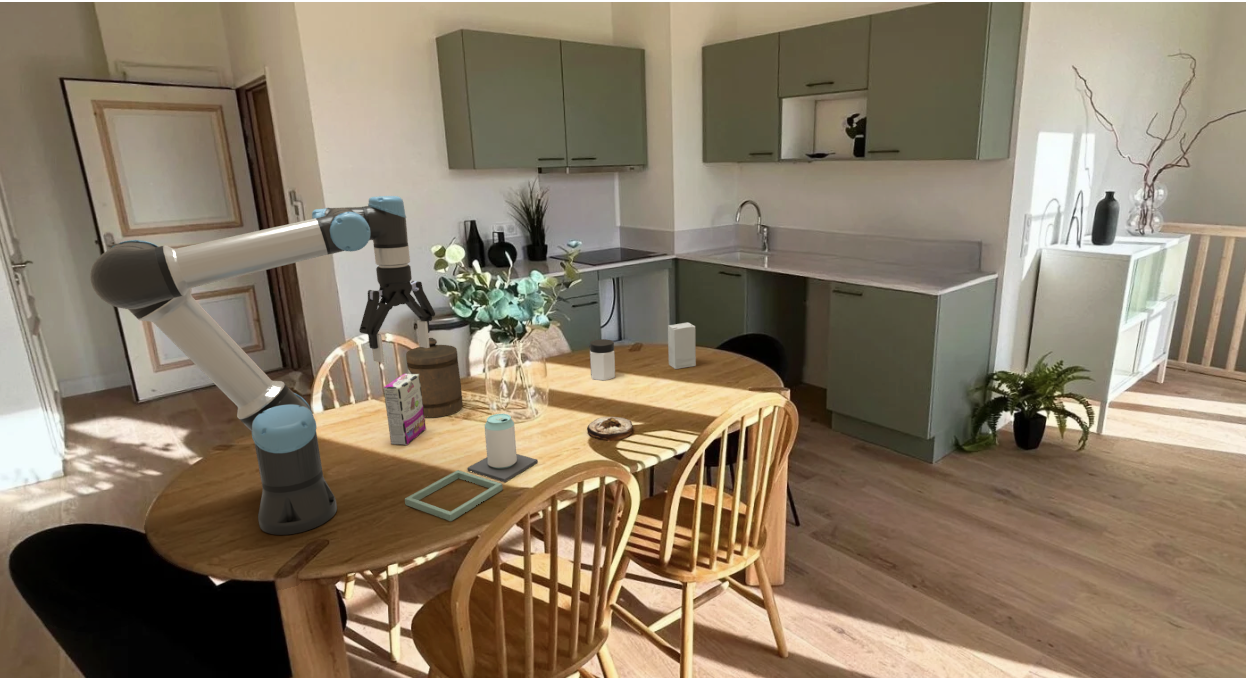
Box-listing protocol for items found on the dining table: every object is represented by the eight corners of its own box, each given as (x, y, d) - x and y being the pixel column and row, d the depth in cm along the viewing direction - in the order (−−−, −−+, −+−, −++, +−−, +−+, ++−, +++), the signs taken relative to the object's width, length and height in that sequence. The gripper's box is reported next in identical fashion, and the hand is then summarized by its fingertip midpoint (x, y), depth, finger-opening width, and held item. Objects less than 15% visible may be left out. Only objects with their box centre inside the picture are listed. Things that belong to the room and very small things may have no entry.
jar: (606, 370, 239) (605, 337, 236) (620, 376, 233) (619, 342, 230) (585, 376, 234) (583, 342, 231) (599, 382, 228) (597, 347, 225)
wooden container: (421, 400, 215) (413, 332, 209) (468, 399, 215) (462, 331, 209) (405, 418, 201) (396, 345, 195) (455, 417, 201) (448, 345, 195)
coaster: (504, 482, 161) (504, 479, 161) (467, 470, 167) (467, 467, 167) (537, 462, 171) (537, 459, 170) (501, 452, 177) (500, 449, 177)
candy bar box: (410, 428, 194) (403, 372, 189) (426, 429, 193) (420, 373, 188) (389, 444, 183) (382, 386, 179) (406, 446, 182) (399, 387, 178)
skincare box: (688, 362, 247) (688, 321, 243) (696, 366, 242) (696, 325, 238) (667, 365, 244) (667, 324, 240) (674, 369, 239) (674, 328, 235)
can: (516, 456, 172) (513, 411, 169) (517, 468, 166) (514, 422, 163) (488, 458, 171) (484, 413, 168) (487, 471, 165) (483, 424, 161)
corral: (450, 521, 144) (450, 515, 144) (405, 504, 152) (404, 498, 151) (502, 489, 157) (502, 483, 157) (458, 475, 165) (457, 470, 164)
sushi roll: (571, 436, 186) (571, 422, 185) (604, 418, 198) (603, 405, 197) (616, 448, 178) (616, 433, 177) (647, 429, 190) (647, 415, 189)
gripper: (423, 256, 170) (431, 339, 176) (335, 272, 150) (347, 365, 155) (445, 258, 166) (452, 343, 172) (357, 274, 146) (369, 370, 151)
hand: (402, 354), depth 164 cm, fingers open, 13 cm apart
